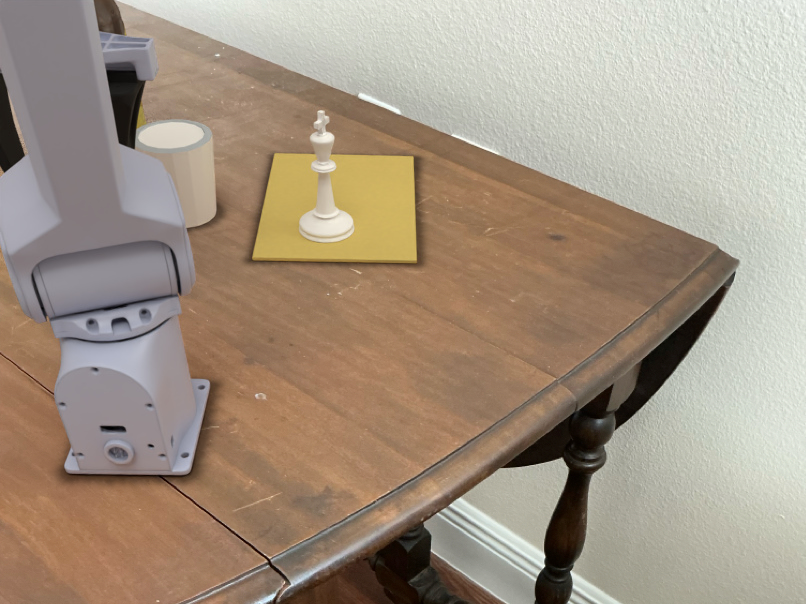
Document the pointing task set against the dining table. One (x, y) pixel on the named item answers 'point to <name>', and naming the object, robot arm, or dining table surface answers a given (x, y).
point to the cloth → (354, 194)
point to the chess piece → (324, 193)
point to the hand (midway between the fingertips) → (74, 182)
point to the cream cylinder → (184, 163)
